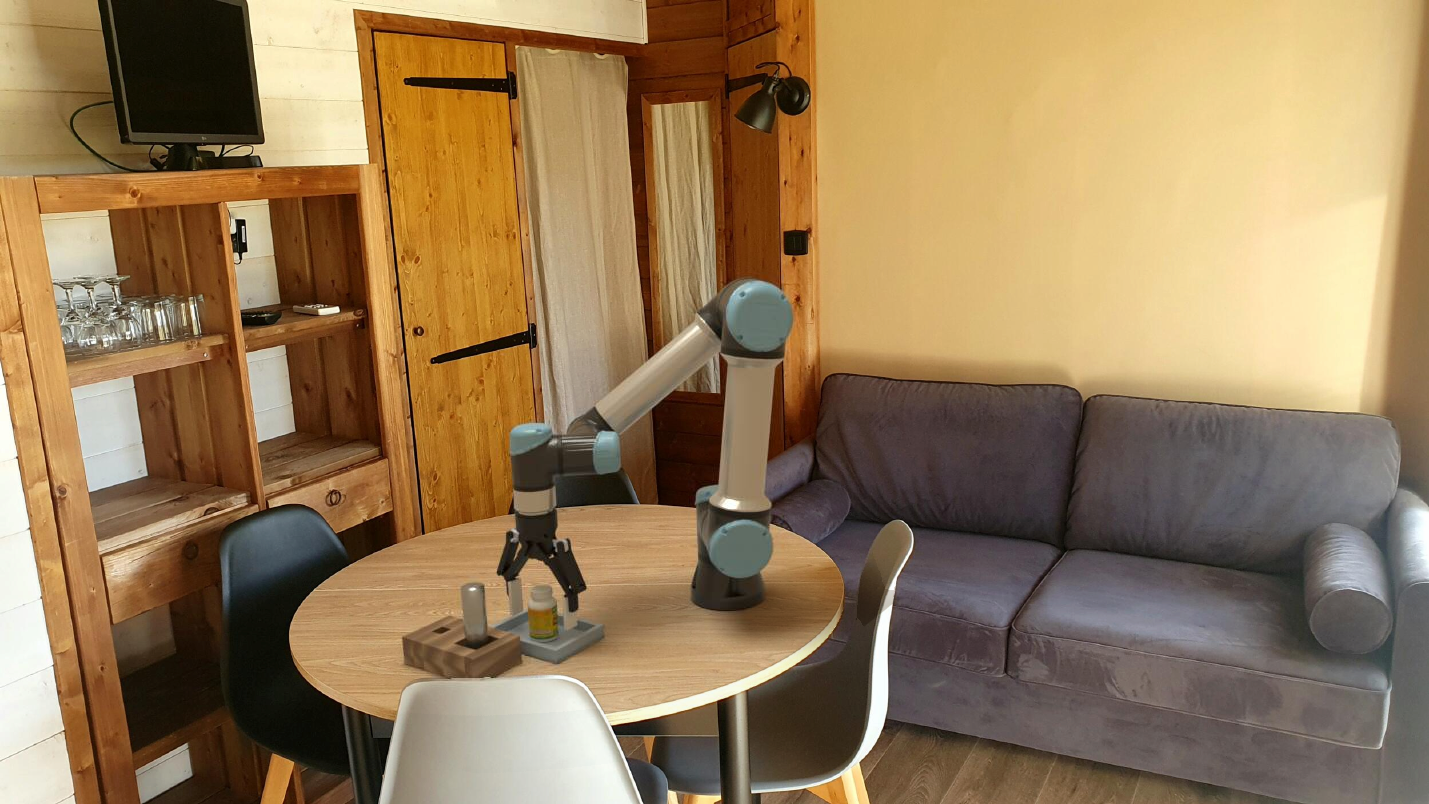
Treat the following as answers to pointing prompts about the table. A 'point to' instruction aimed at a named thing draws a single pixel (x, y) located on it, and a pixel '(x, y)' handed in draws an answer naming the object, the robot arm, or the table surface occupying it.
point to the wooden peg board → (460, 650)
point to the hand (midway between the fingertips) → (543, 620)
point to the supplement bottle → (542, 614)
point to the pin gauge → (474, 615)
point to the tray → (562, 645)
